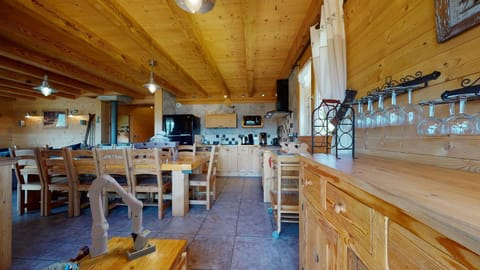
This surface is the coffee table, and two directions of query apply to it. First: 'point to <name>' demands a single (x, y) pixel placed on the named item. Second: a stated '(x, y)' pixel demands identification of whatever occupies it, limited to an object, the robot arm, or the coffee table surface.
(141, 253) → the tray
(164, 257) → the coffee table surface
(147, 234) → the medicine box
